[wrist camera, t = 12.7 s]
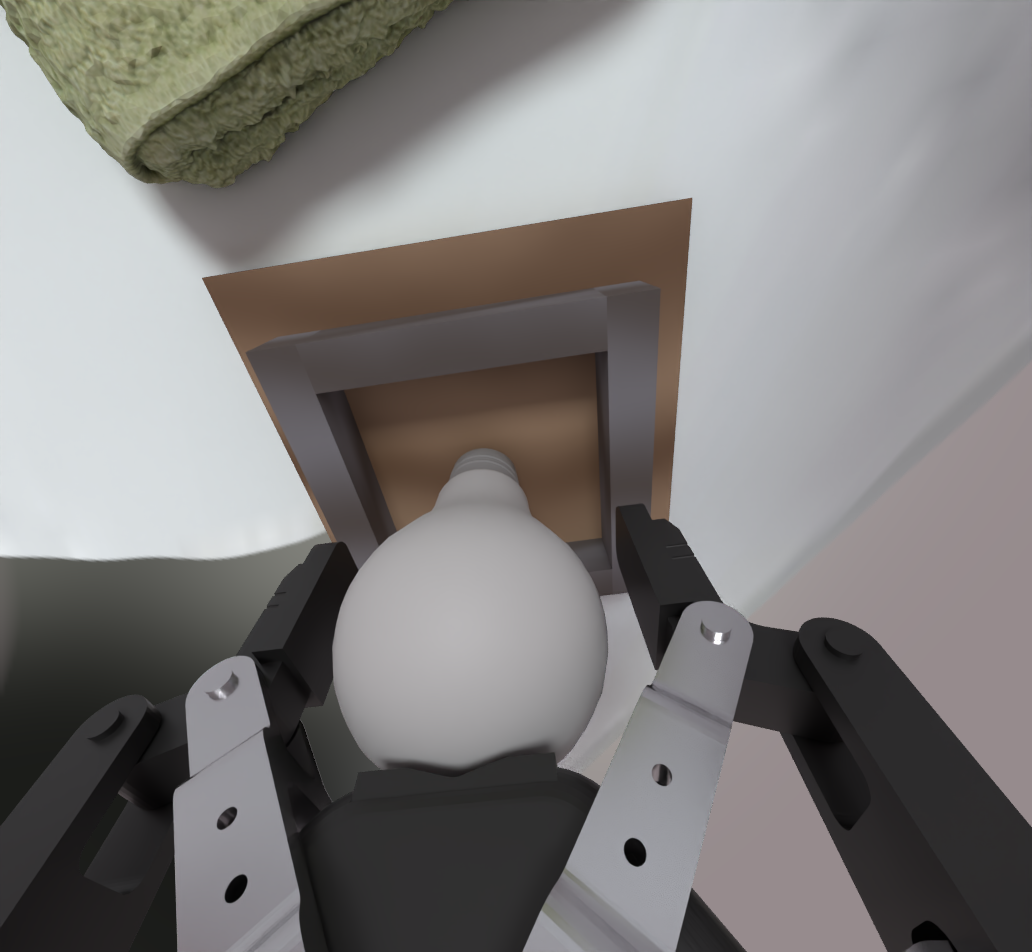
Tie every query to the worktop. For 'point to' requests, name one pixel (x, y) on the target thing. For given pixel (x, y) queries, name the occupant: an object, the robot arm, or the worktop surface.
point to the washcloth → (205, 72)
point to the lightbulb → (470, 633)
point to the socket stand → (477, 371)
